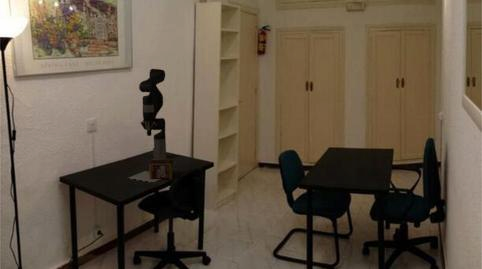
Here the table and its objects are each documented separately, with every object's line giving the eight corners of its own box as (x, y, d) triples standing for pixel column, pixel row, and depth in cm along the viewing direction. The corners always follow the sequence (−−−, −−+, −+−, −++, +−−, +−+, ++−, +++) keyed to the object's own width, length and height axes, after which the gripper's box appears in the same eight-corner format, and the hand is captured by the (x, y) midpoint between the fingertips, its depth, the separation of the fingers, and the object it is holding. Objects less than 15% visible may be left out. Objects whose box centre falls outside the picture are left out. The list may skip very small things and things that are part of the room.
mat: (127, 178, 332) (127, 177, 332) (145, 171, 349) (145, 171, 349) (153, 183, 322) (153, 182, 322) (170, 175, 339) (169, 175, 339)
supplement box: (150, 159, 342) (148, 164, 326) (172, 158, 343) (171, 164, 328) (151, 173, 344) (149, 179, 329) (173, 172, 345) (172, 178, 330)
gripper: (137, 111, 328) (138, 135, 331) (152, 112, 321) (153, 137, 325) (144, 109, 334) (145, 134, 338) (159, 110, 328) (160, 135, 332)
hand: (149, 135), depth 331 cm, fingers closed
